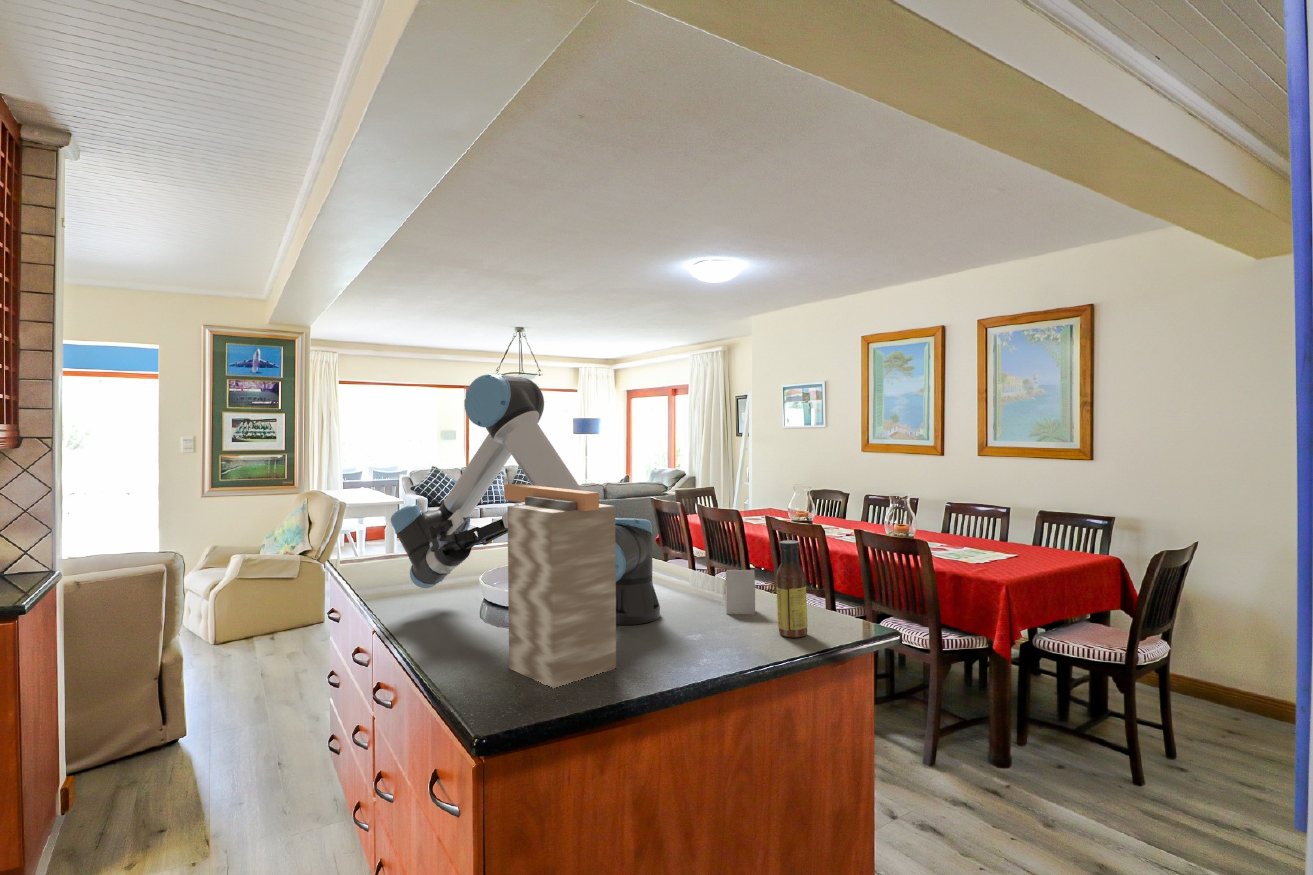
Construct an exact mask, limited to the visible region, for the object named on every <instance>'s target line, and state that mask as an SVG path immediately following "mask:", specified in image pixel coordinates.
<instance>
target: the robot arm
mask: <svg viewBox="0 0 1313 875" xmlns="http://www.w3.org/2000/svg"><path fill="white" fill-rule="evenodd" d="M463 401H464V404H463V405H464V409H465V410H464V411H465V413H466V416H467V418H468V420H469V421H470V422H471V423H473V424H474V425H476V426H477V427H480V428H485V429H486V430H487V432H488V434H487V436H485V439H484V440H483V441H482V443H481V444H480V446H479V447H478V449H477V451H476V452H475V454H474V455H473V457H472V458H471V459H470V461H469V462H468V464H467V466H466V467H465V469H464V470H463V472H462V473H461V474H460V476H459V478H458V480H457V481H455V482H456V483H455V484H454V485H453V487H452V488H451V490H450V491H449V493H448V495H446V497H445V499H444V501H443V502H442V503H441V505H440V506H439V508H438V509H436V510H432V511H428V512H424V511H423V509H422V508H421V507H420V506H419V505H418V504H415V503H412V504H409V505H407V506H404V507H401V508H400V509H398V510H397V511H395V512H394V513H393V514H392V515H391V516H390V523H391V525H392V528H393V530H394V533H395V535H396V536H397V538H398V540H399V542H400V544H401V546H402V547H403V549H404V552H405V553H406V555H407V556H408V559H409V561H410V563H411V567H410V570H409V577H410V580H411V581H412V583H413V584H414V585H415V586H417V587H418V588H421V589H430V588H433V587H435V586H436V585H438V584H439V583H441V582H442V581H443V580H445V578H447V576H448V575H450V574H451V572H452V571H454V570H455V569H456V568H457V567H459V565H460V564H462V563H463V562H465V560H467V558H468V557H469V556H470V554H471V552H472V548H474V546H477V545H478V544H481V543H482V545H483V546H487V545H488V544H490V543H491V542H492V541H495V540H497V539H499V538H500V537H502V536H504V535H506V534H508V511H506V512H505V513H504V514H503V515H502V516H501V518H500V519H498V520H496V521H492V522H491V523H489V524H485V525H484V526H481V527H479V526H476V527H474V528H473V527H472V528H471V529H469V528H470V526H471V517H470V516H471V514H472V513H473V511H474V510H475V509H476V507H477V505H478V504H479V503H480V501H481V500H482V498H483V497H484V495H485V494H486V493H487V491H488V489H489V488H490V487H491V486H492V484H493V482H494V481H495V480H496V479H497V477H498V475H499V474H500V472H501V471H502V469H503V468H504V466H505V465H506V463H507V462H508V461H509V459H510V458H511V456H512V458H513V459H514V461H515V462H516V464H517V465H518V467H519V468H520V469H521V471H522V473H523V474H524V476H525V477H526V479H527V481H528V482H529V484H530V485H533V486H543V487H552V488H562V489H571V490H580V491H583V489H582V487H581V486H580V484H579V483H578V482H577V480H576V479H575V477H574V476H573V474H572V472H571V471H570V469H569V468H568V467H567V465H566V464H565V462H564V461H563V459H562V458H561V456H560V454H559V453H558V452H557V450H556V449H555V448H554V446H553V444H552V443H551V441H549V439H548V436H546V434H545V432H544V431H543V429H542V428H541V427H540V425H539V422H540V420H541V418H542V416H543V413H544V409H545V398H544V395H543V392H542V390H541V388H540V387H539V386H538V384H537V383H536V382H534V381H532V380H531V379H529V378H526V377H523V376H512V375H511V376H510V375H504V374H499V373H490V374H483V375H480V376H477V377H476V378H475V379H474V380H473V381H472V382H471V383H470V384H469V386H468V388H467V390H466V392H465V399H464V400H463ZM515 505H520V504H518V503H517V504H516V503H515V504H514V505H513V506H515ZM475 532H476V533H475ZM653 536H654V532H653V526H652V522H651V521H650V520H649V519H645V518H631V517H630V518H625V517H622V518H621V517H615V557H616V625H622V626H630V625H631V626H633V625H642V624H647V623H652V622H655V621H657V620H658V619H660V617H661V605H660V603H659V599H658V596H657V593H656V590H655V586H654V584H653V583H654V582H653Z"/></svg>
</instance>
